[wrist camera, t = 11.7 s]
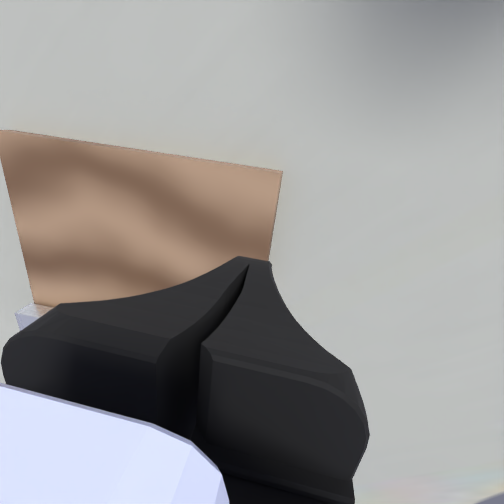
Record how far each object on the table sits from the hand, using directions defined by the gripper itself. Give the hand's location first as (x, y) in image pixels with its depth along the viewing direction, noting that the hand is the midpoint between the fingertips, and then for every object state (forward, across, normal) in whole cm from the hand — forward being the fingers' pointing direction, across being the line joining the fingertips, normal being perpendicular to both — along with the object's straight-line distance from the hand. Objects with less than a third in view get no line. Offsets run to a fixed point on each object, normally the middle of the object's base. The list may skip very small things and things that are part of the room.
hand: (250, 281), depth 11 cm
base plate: (+9, +10, +7) cm, 15 cm away
